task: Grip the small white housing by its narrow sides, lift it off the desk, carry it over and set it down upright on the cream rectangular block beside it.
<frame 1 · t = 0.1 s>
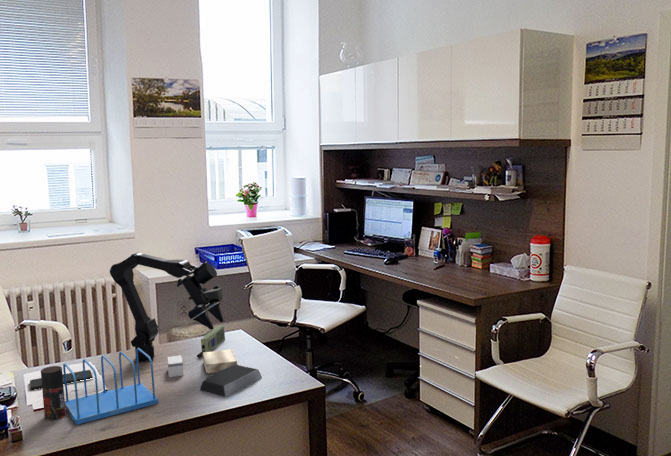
hand: (217, 325, 231), 15 cm above the table, tool tilted 30°, fingers open, 9 cm apart
deodorant: (55, 416, 190), on the table
cream rectangular block: (219, 367, 229), on the table
smart home device: (61, 383, 218), on the table
handheld radio: (211, 349, 251), on the table
external hard drive: (231, 385, 213), on the table
file sorter: (111, 406, 197), on the table
white housing: (175, 372, 225), on the table
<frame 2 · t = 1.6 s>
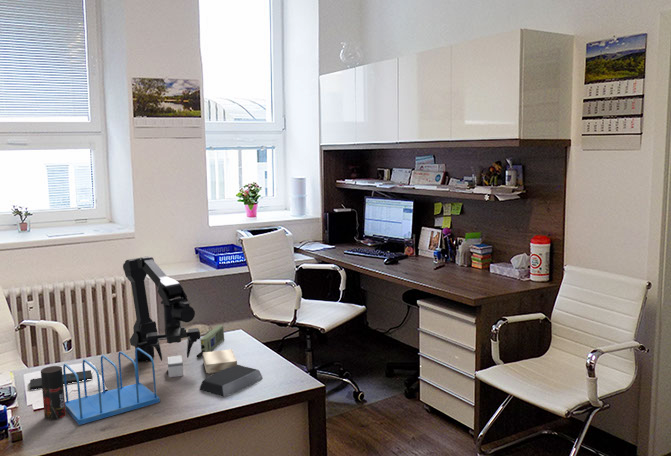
hand: (174, 359, 224), 5 cm above the table, tool pointing down, fingers open, 9 cm apart
nothing on the table moved.
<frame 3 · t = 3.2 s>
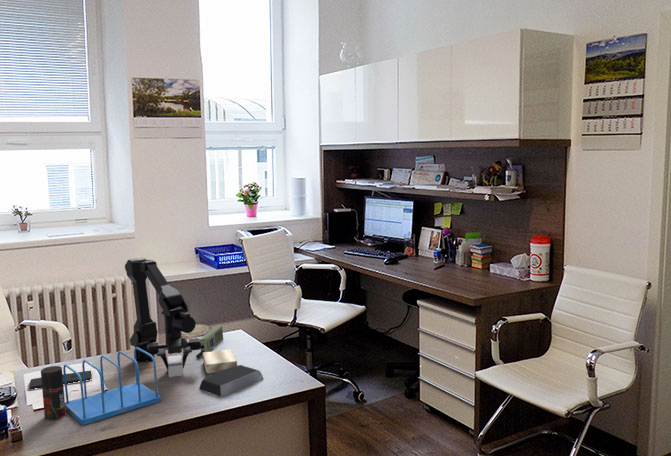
hand: (175, 369, 225), 1 cm above the table, tool pointing down, fingers closed on white housing, 5 cm apart
white housing: (175, 372, 225), on the table, touching gripper
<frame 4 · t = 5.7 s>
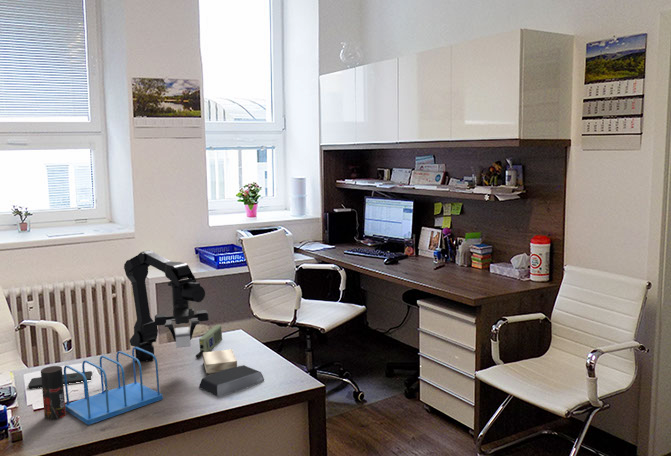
hand: (182, 340, 224), 12 cm above the table, tool pointing down, fingers closed on white housing, 5 cm apart
white housing: (183, 343, 224), point 10 cm above the table, touching gripper
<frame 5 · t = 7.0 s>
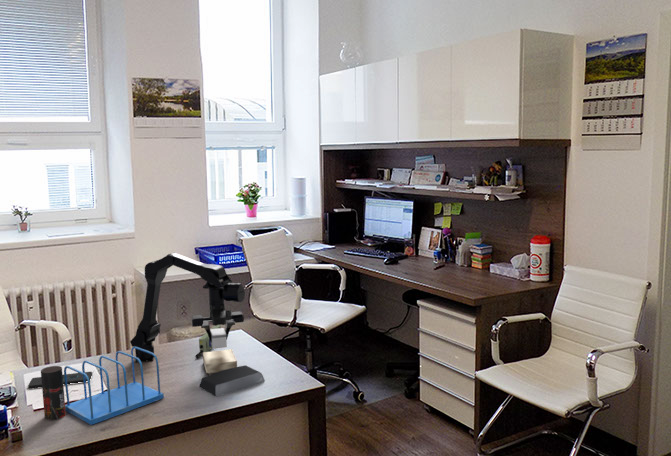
hand: (218, 341, 228), 10 cm above the table, tool pointing down, fingers closed on white housing, 5 cm apart
white housing: (218, 344, 228), point 9 cm above the table, touching gripper
when the fingers open (7 cm above the table, at t = 8.2 s): white housing drops 2 cm, resting on cream rectangular block.
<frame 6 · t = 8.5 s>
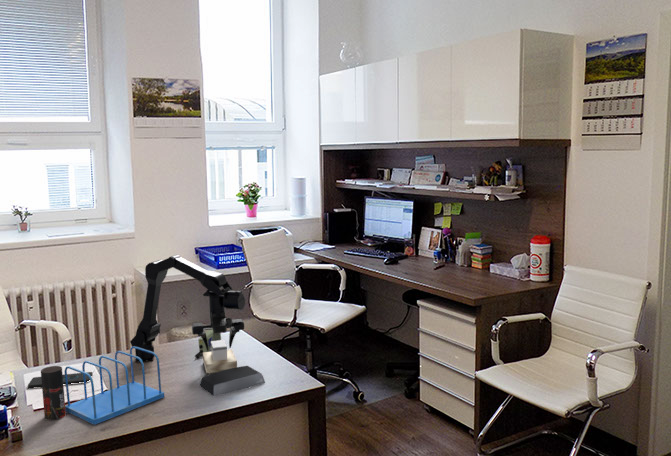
hand: (219, 348, 228), 7 cm above the table, tool pointing down, fingers open, 8 cm apart
white housing: (219, 356, 229), point 4 cm above the table, touching cream rectangular block
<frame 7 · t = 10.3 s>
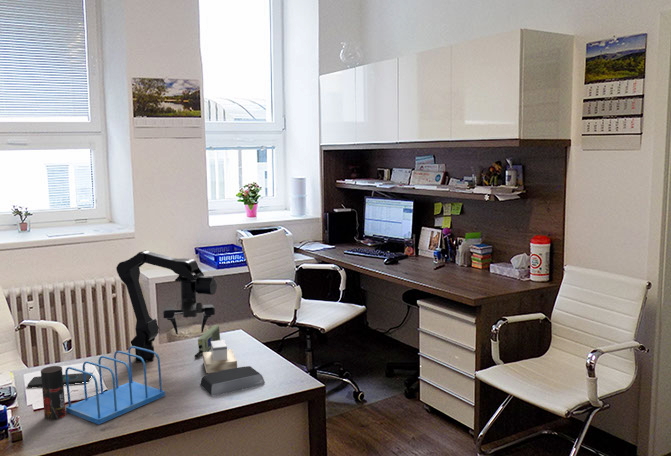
hand: (189, 333, 233), 11 cm above the table, tool pointing down, fingers open, 9 cm apart
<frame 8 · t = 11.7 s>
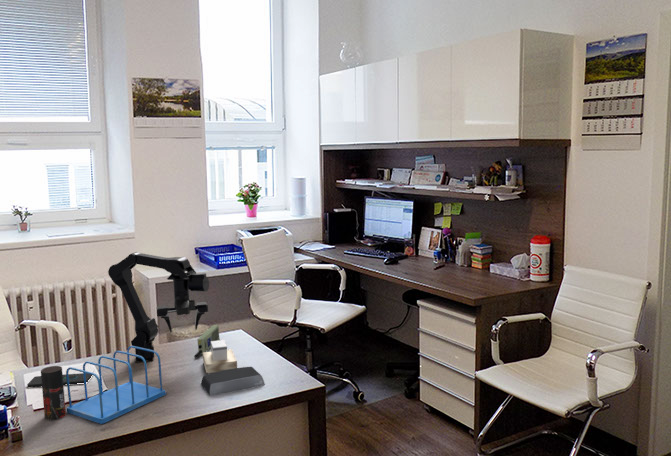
hand: (183, 330, 235), 12 cm above the table, tool pointing down, fingers open, 9 cm apart
at the end: white housing 0.0 cm off-centre on the cream rectangular block, point 4.0 cm above the cream rectangular block's base; white housing tilted 0°; the gripper is holding nothing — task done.
